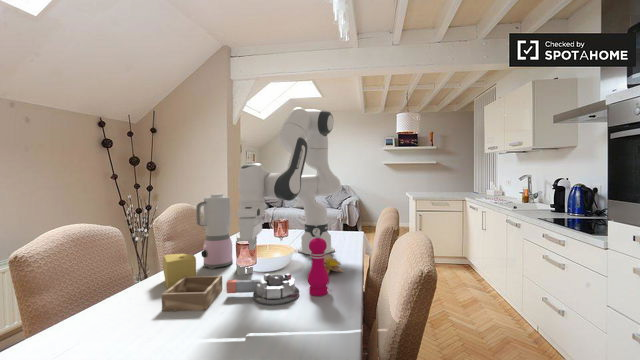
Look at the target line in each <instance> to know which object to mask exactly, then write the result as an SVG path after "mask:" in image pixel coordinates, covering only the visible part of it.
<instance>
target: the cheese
mask: <svg viewBox="0 0 640 360" xmlns="http://www.w3.org/2000/svg"><path fill="white" fill-rule="evenodd" d="M162 268H163V275H164V282H165V286H166V289H167V290H168V289H169V288H171V287H172V286H173V285H174V284H176V283H177V282H178V281H180V280H181V279H182V278H183V277H193V276H197V258H196V256H195V255H194V254H193V253H189V254H186V253H174V254H172V253H171V254H165V255H163V257H162Z"/></svg>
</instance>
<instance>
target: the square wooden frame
mask: <svg viewBox="0 0 640 360" xmlns="http://www.w3.org/2000/svg"><path fill="white" fill-rule="evenodd" d="M222 291H223V275H200V276H198V275H196V276H193V277H183V278H182V279H181V280H180V281H178V282H177V283H176V284H174V285H173V286H172V287H171V288H169V289H167V290H165V291H164V292H162V293H161V311H162V312H179V311H180V312H185V311H207V310H208V309H209V308H210V307H211V305H212V304H213V303H214V302H215V300H216V299H217V297H218V296H219V295H220V294H221V293H222Z"/></svg>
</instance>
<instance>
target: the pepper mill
mask: <svg viewBox="0 0 640 360" xmlns="http://www.w3.org/2000/svg"><path fill="white" fill-rule="evenodd" d="M326 248H327V244H326V241H325V240H324V239H322V238H320V234H318V233H317V234H316V235H315V238H314V239H312V240H311V241H310V243H309V249H310V250H311V255H310V258H311V261H312V262H311V268H310V270H309V273H308V275H307V283H308V285H309V287H308V292H309V294H310V295H311V296H312V297H322V296H325V295H327V294H328V293H329V289H328V288H329V287H328V284H329V281H330V278H329V277H330V276H329V274H328V273H327V271H326V269H325V266H324V257H325V255H326V254H325V252H324V251H325V250H326Z"/></svg>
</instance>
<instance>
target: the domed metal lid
mask: <svg viewBox="0 0 640 360" xmlns="http://www.w3.org/2000/svg"><path fill="white" fill-rule="evenodd" d="M268 279H269V286H282V282H283V281H284V276H283V274H272V275H270V276H269V278H268ZM252 293H253V294H252V298H253V301H254V302H255V303H257V304H259V305H262V306H283V305H286V304H290V303H292V302H294V301H296V300H297V299H298V298H299V296H300V289H299V288H298V287H296V286H295V290H294V293H293V294H291V295H289V296H286V297H284V298H282V297H281V298H271V299H267V298H263V297H261V296H259V295H257V292H252Z"/></svg>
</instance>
